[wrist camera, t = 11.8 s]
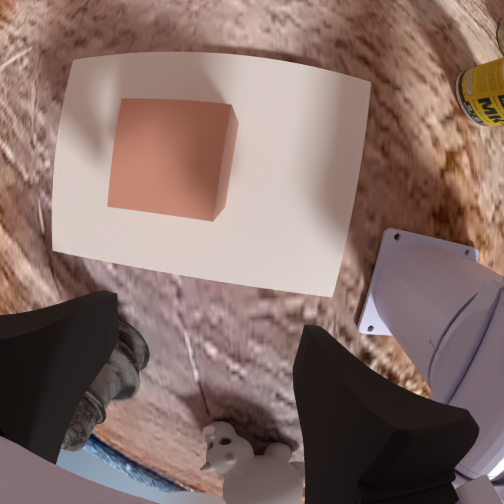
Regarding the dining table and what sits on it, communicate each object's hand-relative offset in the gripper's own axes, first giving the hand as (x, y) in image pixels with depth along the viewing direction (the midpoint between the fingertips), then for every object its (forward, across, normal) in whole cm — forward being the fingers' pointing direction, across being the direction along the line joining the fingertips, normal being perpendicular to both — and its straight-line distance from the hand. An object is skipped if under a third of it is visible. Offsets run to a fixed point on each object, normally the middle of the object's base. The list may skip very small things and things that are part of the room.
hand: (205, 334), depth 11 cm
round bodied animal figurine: (+10, -4, +18) cm, 21 cm away
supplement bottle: (+10, -17, -16) cm, 25 cm away
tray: (+9, +3, -6) cm, 12 cm away
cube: (+8, +3, -6) cm, 10 cm away
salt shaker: (+10, +8, +9) cm, 15 cm away
